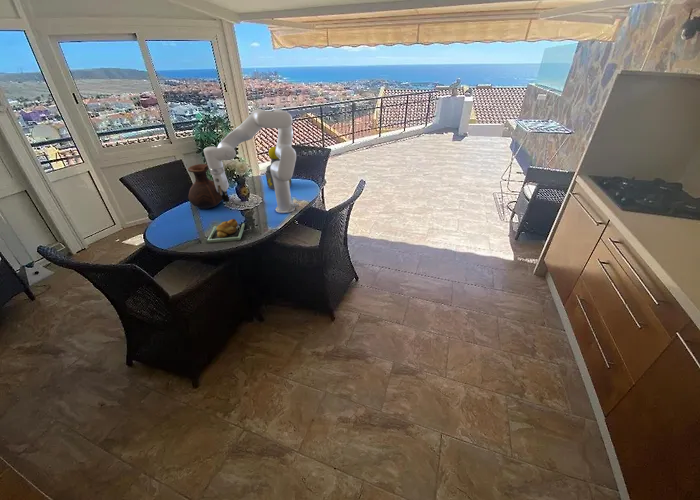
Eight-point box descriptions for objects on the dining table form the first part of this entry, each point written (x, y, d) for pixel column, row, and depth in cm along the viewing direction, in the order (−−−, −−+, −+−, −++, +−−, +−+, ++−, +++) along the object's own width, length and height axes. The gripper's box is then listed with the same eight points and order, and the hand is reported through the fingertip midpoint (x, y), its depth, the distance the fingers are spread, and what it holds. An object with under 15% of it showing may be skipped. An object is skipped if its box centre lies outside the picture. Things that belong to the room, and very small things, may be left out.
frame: (245, 225, 176) (244, 223, 175) (240, 239, 162) (239, 237, 161) (215, 227, 174) (214, 225, 173) (207, 242, 160) (206, 240, 159)
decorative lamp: (297, 184, 232) (292, 145, 215) (280, 192, 219) (274, 151, 202) (279, 180, 240) (273, 142, 224) (262, 188, 227) (254, 148, 210)
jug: (198, 215, 189) (182, 169, 173) (187, 205, 203) (172, 161, 186) (231, 205, 201) (219, 161, 185) (219, 196, 215) (207, 154, 198)
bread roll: (224, 241, 161) (220, 228, 157) (211, 237, 165) (207, 224, 161) (241, 230, 171) (238, 218, 166) (229, 227, 174) (226, 215, 170)
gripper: (221, 174, 155) (230, 206, 165) (227, 165, 167) (235, 195, 177) (206, 175, 154) (216, 207, 164) (213, 166, 166) (222, 196, 177)
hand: (226, 201), depth 171 cm, fingers closed
